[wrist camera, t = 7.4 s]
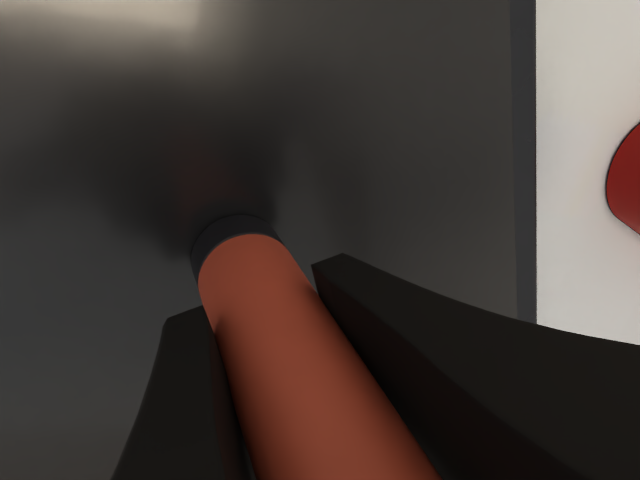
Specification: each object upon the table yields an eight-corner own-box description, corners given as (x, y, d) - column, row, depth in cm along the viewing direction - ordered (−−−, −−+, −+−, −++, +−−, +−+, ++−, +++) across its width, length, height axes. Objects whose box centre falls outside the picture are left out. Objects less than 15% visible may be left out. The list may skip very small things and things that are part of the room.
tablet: (126, 699, 18) (127, 726, 17) (-464, 0, 7) (-520, 2, 7) (526, 494, 21) (540, 510, 21) (513, -190, 11) (541, -201, 10)
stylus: (206, 307, 12) (383, 870, 5) (177, 232, 11) (341, 791, 4) (289, 276, 12) (578, 743, 5) (268, 201, 12) (589, 639, 4)
